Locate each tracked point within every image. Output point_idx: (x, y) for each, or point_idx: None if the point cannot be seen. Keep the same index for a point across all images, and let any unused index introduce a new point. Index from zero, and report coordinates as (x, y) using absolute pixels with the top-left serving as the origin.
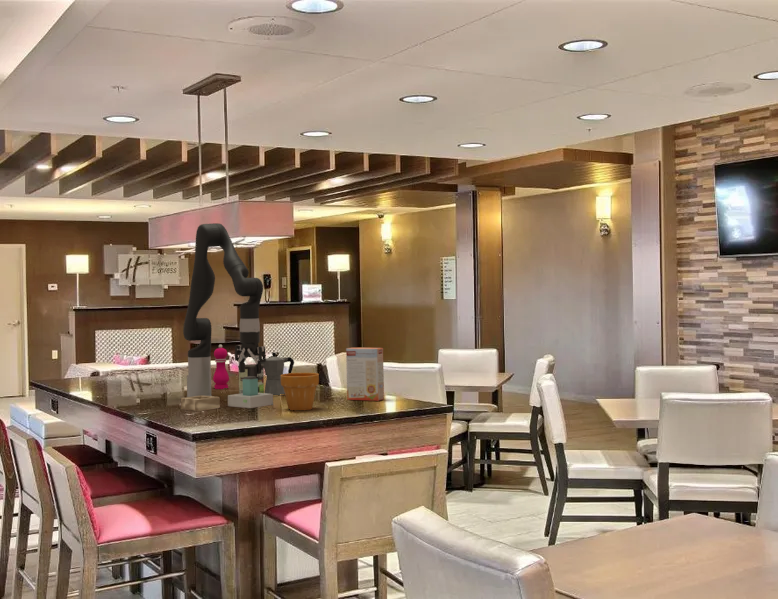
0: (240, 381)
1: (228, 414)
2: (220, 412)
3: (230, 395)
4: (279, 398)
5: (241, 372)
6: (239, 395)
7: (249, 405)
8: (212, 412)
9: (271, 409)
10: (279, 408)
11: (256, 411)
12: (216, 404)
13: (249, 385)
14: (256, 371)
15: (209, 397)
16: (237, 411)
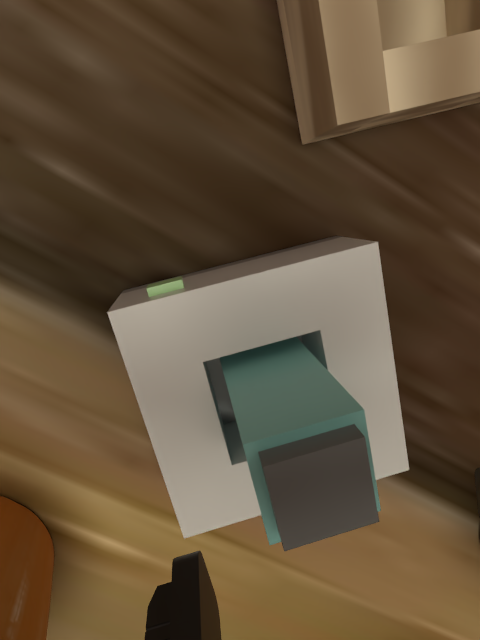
0: None
1: (56, 68)
2: (204, 87)
3: (354, 255)
4: (463, 634)
5: (475, 471)
6: (296, 311)
7: (126, 295)
8: (248, 40)
9: (93, 424)
10: (102, 478)
11: (69, 308)
12: (310, 99)
13: (242, 408)
14: (178, 579)
15: (377, 28)
16: (164, 210)
